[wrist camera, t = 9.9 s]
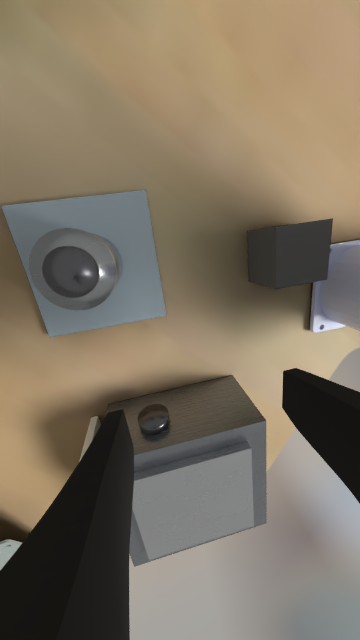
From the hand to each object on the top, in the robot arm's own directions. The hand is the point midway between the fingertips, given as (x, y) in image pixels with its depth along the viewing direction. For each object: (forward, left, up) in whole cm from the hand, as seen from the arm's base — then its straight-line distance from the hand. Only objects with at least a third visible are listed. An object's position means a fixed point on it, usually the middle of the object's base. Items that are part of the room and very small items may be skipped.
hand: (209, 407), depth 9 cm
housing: (+1, +12, -10) cm, 16 cm away
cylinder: (+5, -6, -9) cm, 12 cm away
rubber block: (-9, -5, -10) cm, 14 cm away
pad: (+5, -6, -10) cm, 13 cm away
